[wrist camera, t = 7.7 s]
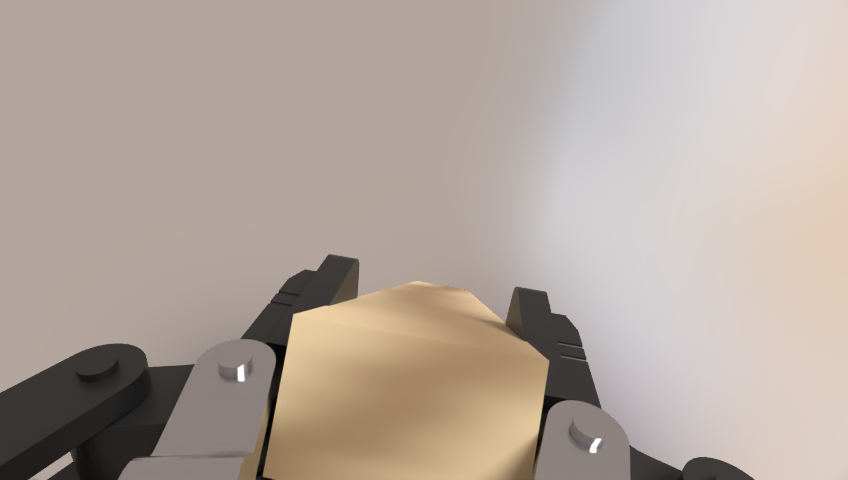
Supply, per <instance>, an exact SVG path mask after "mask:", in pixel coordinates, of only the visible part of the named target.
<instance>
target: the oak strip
mask: <svg viewBox="0 0 848 480" xmlns="http://www.w3.org/2000/svg"><path fill="white" fill-rule="evenodd" d="M548 366H549V360H548V359H546V358H545V357H544V356H543V355H542V354H541V353H539V352H538V351H537V350H536V349H535V348H534V347H532V346H531V345H530V344H529V343H528V342H526V341H523V340H522V339H521V338H520V337H519V336H517V335H516V334H515V333H514V332H513V331H512V330H511V329H510V328H509V327H507V326H506V325H505V322H503V321H502V320H501V319H500V318H499V317H498V316H497V315H495V314H494V313H493V312H492V311H491V310H490V309H488V308H487V307H486V306H485V305H484V304H483V303H482V302H480V301H479V300H478V299H477V298H476V297H475V296H473V295H472V294H471V293H470V292H469V291H468V290H465V289H460V288H454V287H449V286H443V285H437V284H431V283H426V282H420V281H415V282H411V283H407V284H404V285H400V286H397V287H393V288H389V289H385V290H382V291H378V292H374V293H370V294H367V295H363V296H359V297H357V298H356V299H352V300H348V301H345V302H341V303H338V304H334V305H331V306H322V307H319V308H315V309H311V310H308V311H304V312H300V313H296V314H293V319H292V324H291V330H290V335H289V340H288V346H287V351H286V356H285V361H284V367H283V372H282V377H281V382H280V388H279V393H278V398H277V403H276V409H275V414H274V419H273V425H272V430H271V435H270V440H269V446H268V451H267V456H266V461H265V467H264V472H263V477H266V478H271V479H276V480H531V479H532V473H533V466H534V459H535V453H536V446H537V439H538V433H539V426H540V420H541V413H542V406H543V400H544V393H545V386H546V380H547V373H548Z"/></svg>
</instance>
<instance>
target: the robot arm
mask: <svg viewBox="0 0 848 480" xmlns="http://www.w3.org/2000/svg"><path fill="white" fill-rule="evenodd" d="M358 278H359V261H358V259H354V258H348V257H343V256H337V255H331V254H329V255H328V256H327V257H326V259H325V260H324V261H323V263H322V264H321V266H320V267H319V268H318V270H317V271H311V270H303V271H302V272H300V273H298V274H296V275H295V276H293V277H291V278H289V279H288V280H287V281H286V283H285V284H284V285H283V286H282V288H281V289H280V290H279V293H278V294H276V295H275V296H274V298H273V299H272V300H271V303H270V304H268V305H267V306H266V308H265V309H264V310H263V311H262V313H261V314H260V315H259V316H258V318H257V319H256V320H255V321H254V323H253V324H252V325H251V326H250V327H249V329H248V330H247V331H246V332H245V334H244V335H243V336H242V337H241V339H237V340H231V341H227V342H224V343H221V344H218V345H216V346H214V347H212V348H210V349H209V350H207V351H206V352H205V353H203V354H202V355H201V356H200V357H199V359H198V360H197V362H196V363H195V364H192V365H180V366H163V367H148V363H147V358H146V355H145V353H144V352H143V351H142V350H141V349H139V348H138V347H135V346H132V345H129V344H106V345H102V346H97V347H93V348H90V349H87V350H84V351H81V352H79V353H77V354H75V355H73V356H71V357H69V358H67V359H65V360H63V361H61V362H59V363H58V364H56V365H54V366H52V367H50V368H48V369H46V370H44V371H42V372H40V373H38V374H36V375H34V376H32V377H30V378H28V379H26V380H25V381H23V382H21V383H19V384H17V385H15V386H13V387H11V388H9V389H7V390H5V391H3V392H1V393H0V480H28V479H30V478H31V477H33V476H34V475H36V474H37V473H38V472H40V471H41V470H43V469H44V468H46V467H47V466H49V465H50V464H52V463H53V462H55V461H56V460H58V459H59V458H61V457H62V456H63V455H65V454H67V453H68V452H71V456H72V458H73V462H72V463H71V464H69V465H68V466H66V467H65V468H64V469H62V470H60V471H59V472H58V473H56V474H55V475H53V476H52V477H51V478H49V479H48V480H276V479H271V478H266V477H263V472H264V467H265V461H266V456H267V451H268V446H269V440H270V435H271V430H272V425H273V419H274V414H275V409H276V403H277V398H278V393H279V388H280V382H281V377H282V372H283V367H284V361H285V356H286V351H287V346H288V340H289V335H290V330H291V324H292V319H293V314H296V313H300V312H304V311H308V310H311V309H315V308H319V307H322V306H331V305H334V304H338V303H341V302H345V301H348V300H352V299H356V298H357V294H358ZM505 325H506V326H507V327H509V328H510V329H511V330H512V331H513V332H514V333H515V334H516V335H517V336H519V337H520V338H521V339H522V340H523V341H526V342H528V343H529V344H530V345H531V346H532V347H534V348H535V349H536V350H537V351H538V352H539V353H541V354H542V355H543V356H544V357H545V358H546V359H548V360H549V366H548V373H547V380H546V386H545V393H544V400H543V406H542V413H541V420H540V426H539V433H538V439H537V446H536V453H535V459H534V466H533V473H532V479H531V480H754V479H753V478H752V477H750V476H749V475H748V474H746V473H745V472H743V471H742V470H740V469H738V468H737V467H735V466H733V465H730V464H728V463H726V462H723V461H721V460H717V459H713V458H707V457H698V458H694V459H692V460H690V461H688V462H687V464H686V465H685V466H684V468H683V470H682V471H681V470H678V469H676V468H674V467H672V466H669V465H667V464H665V463H663V462H661V461H658V460H656V459H654V458H652V457H650V456H647V455H646V454H644V453H642V452H640V451H638V450H636V449H635V448H633V447H631V446H630V445H629V441H628V438H627V436H626V434H625V432H624V430H623V429H622V427H621V426H620V425H619V424H618V422H616V420H614V419H613V418H612V417H611V416H610V415H609V414H607V413H606V412H605V411H603V410H602V409H601V405H600V402H599V399H598V395H597V392H596V389H595V385H594V382H593V379H592V375H591V372H590V369H589V366H588V362H586V356H585V352H584V349H582V342H581V339H580V336H579V332H578V330H577V329H576V328H575V327H574V325H573V324H572V323H571V322H570V320H569V319H568V318H567V317H566V316H565V315H560V314H554V313H551V309H550V305H549V301H548V296H547V293H546V292H544V291H538V290H532V289H527V288H521V287H516V288H515V289H514V292H513V295H512V299H511V303H510V307H509V311H508V316H507V320H506V323H505Z"/></svg>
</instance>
